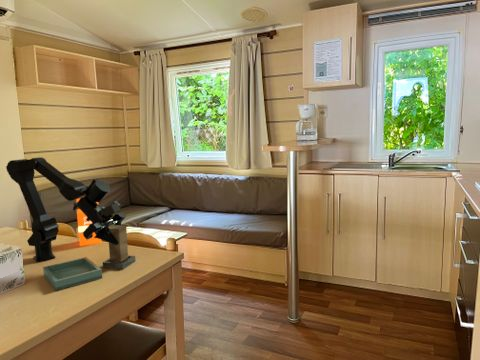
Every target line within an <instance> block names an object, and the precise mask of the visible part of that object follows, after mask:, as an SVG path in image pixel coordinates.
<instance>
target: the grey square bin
mask: <svg viewBox="0 0 480 360" xmlns="http://www.w3.org/2000/svg"><path fill="white" fill-rule="evenodd" d="M135 262H136V255H129V254H128V258H127V259H125V260H124V261H122V262H115V261H110V257H109V258H107V259H106V260H104V261H102V268H103V269H113V270H114V269H115V270H125V269H126V268H127V267H128V268H129V266H131V265H132V264H133V263H135Z"/></svg>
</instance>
